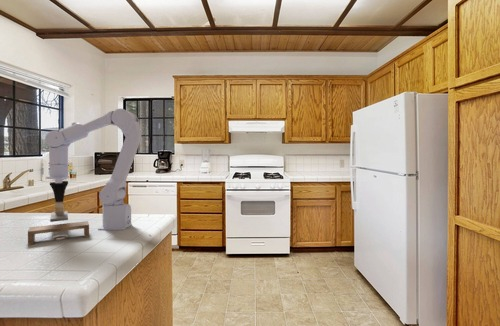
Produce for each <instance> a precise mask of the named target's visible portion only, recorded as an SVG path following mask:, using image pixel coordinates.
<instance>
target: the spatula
mask: <svg viewBox="0 0 500 326" xmlns="http://www.w3.org/2000/svg"><path fill="white" fill-rule="evenodd" d="M68 213H69V211H68V210H64V201H63V202H56V201H55V200H54V211H53V212H51V214H50V219H49V222H50V223H54V222H61V221H62V222H63V221H69V217H68V216H69V215H68Z"/></svg>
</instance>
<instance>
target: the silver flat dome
mask: <svg viewBox="0 0 500 326" xmlns="http://www.w3.org/2000/svg"><path fill="white" fill-rule="evenodd" d="M68 238H69V237H68V234H57V235H53V236H52V240H53V241H63V240H67V239H68Z"/></svg>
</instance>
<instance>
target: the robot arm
mask: <svg viewBox="0 0 500 326" xmlns="http://www.w3.org/2000/svg"><path fill="white" fill-rule="evenodd" d="M140 122H141V121H140V119H139V118H138V117H137V115H136V114H135V113H133V112H130V111H128V110H126V109H125V108H124V109H123V108H117V109H115V110H111V111H108V112H107V113H105V114H103V115H101V116H98V117H96V118H94V119H92V120H90V121H88V122H86V123H81V122H72V123H71V125H70V126H66V127H64V128H63V127H61V128H59V129H58V131H57V130H51V131H50V132H48V133H47V134H46V135H45V138H44V141H45V144H46V145H47V146H48V154H49V155H48V156H49V157H48V158H49V159H48V162H49V163H48V164H49V165H48V166H49V170H48V171H49V176H45V179H46V180H47V179H48V180H54V181H52V182H51V181H50V182H49V186H50V187H51V189H52V191H53V192H52V193H53V195H54V202H55V201H56V202H63V203H64V198H65V191H66V189H67V187H68V185H69V180H67V179H69V178H70V177H69V147H70V146H71V144H73V143H75V142H77V141H80V140H82V139H85V138H87V137H88V135H89V134H90V133H91V132H93V131H96V130H100V129H102V128H104V127H107V126H116V127H117V128H118V129H120V130H121V132H122V134H123V135H124V137H125V138H124V141H123V143H122V145H121V149H120V152H119V154H118V156H117V160H116V162H115V165H114V168H113V171H112V173H111V177H110V178H109V179H108V180H107V182H106V183H105V185H104V187H103V188H101V190H100V191H99V193H98V197H99V201H101V203H102V226H100V227H98V228H97V230H98V231H118V230H119V231H120V230H121V231H122V230H126V229H128V228H129V227H130V226H132V225H133V223H132V208H131V207H132V206H131V204H129V203H125V201H124V199H125V197H126V196H127V189H126V188H127V185H128V184H127V179H128V176H129V173H130V170H131V168H132V164H133V162H134V159H135V157H136V154H137V152H138V151H137V150H138V149H139V146H140V143H141V140H142V137H143V136H142V131H141V126H140Z"/></svg>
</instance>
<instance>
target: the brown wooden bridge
mask: <svg viewBox="0 0 500 326" xmlns="http://www.w3.org/2000/svg"><path fill="white" fill-rule="evenodd" d="M80 229H81V230H82V229H83V235H84V238H90V223H89V221H88V220H86V221H78V222H77V221H75V222H68V223H57V224H50V225H49V224H48V225H47V224H46V225H39V226H37V225H36V226H30V227H29V228H28V230H27V246H28V245H29V246H30V245H34V242H35V241H36V240H35V239H36V237H35V236H36V235H38V234H47V233H57V232H65V231H74V230H80Z"/></svg>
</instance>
